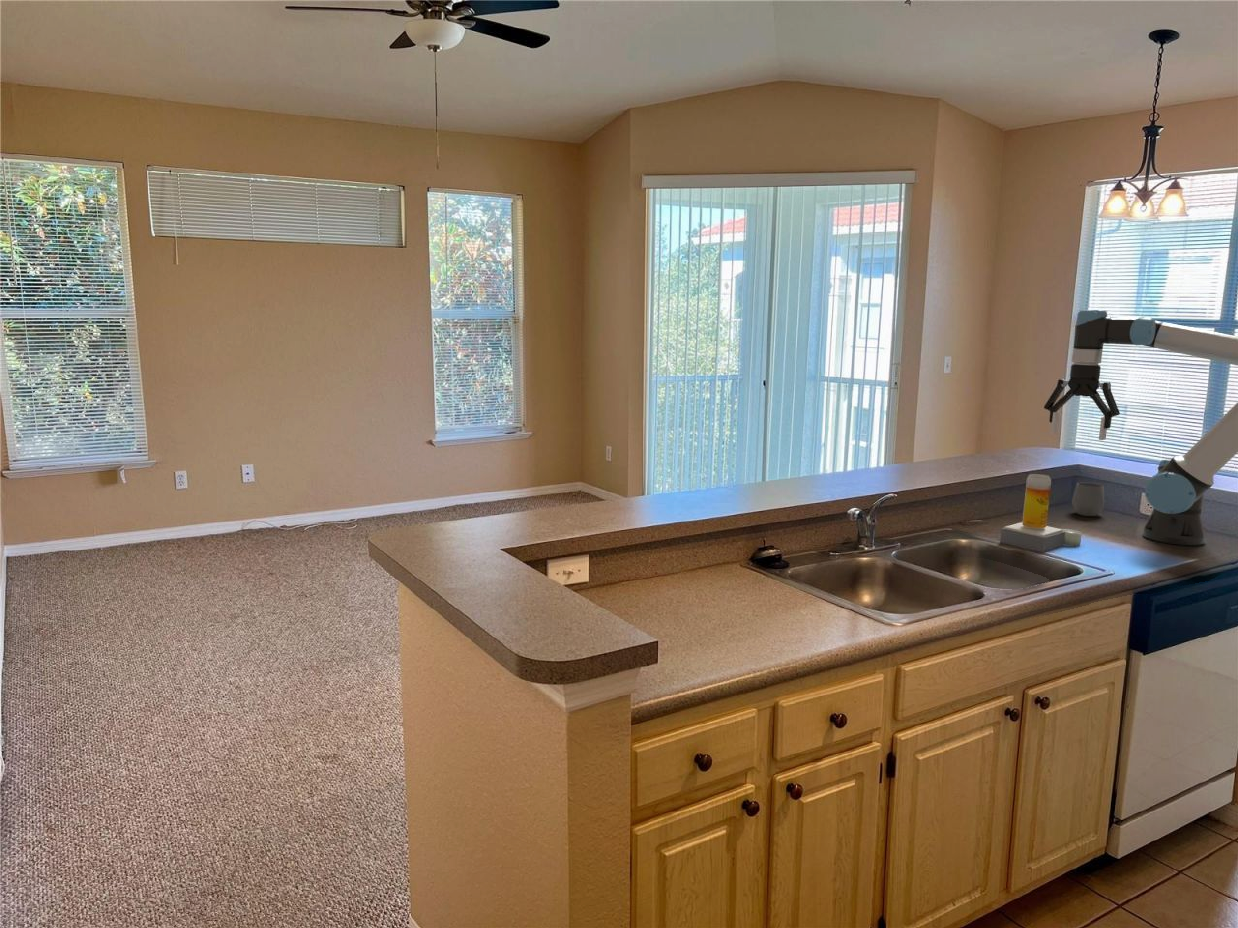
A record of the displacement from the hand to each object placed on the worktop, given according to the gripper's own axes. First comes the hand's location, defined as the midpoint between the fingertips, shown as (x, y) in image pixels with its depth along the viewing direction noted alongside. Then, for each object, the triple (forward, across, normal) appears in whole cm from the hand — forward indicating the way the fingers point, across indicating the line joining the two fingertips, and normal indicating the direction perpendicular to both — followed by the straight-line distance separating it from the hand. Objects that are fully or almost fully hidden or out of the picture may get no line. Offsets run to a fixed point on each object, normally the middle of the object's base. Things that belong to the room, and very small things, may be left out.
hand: (1077, 436), depth 247 cm
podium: (+29, -1, +23) cm, 37 cm away
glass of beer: (+24, -1, +23) cm, 33 cm away
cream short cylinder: (+29, -6, +13) cm, 32 cm away
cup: (+29, +7, -29) cm, 42 cm away
